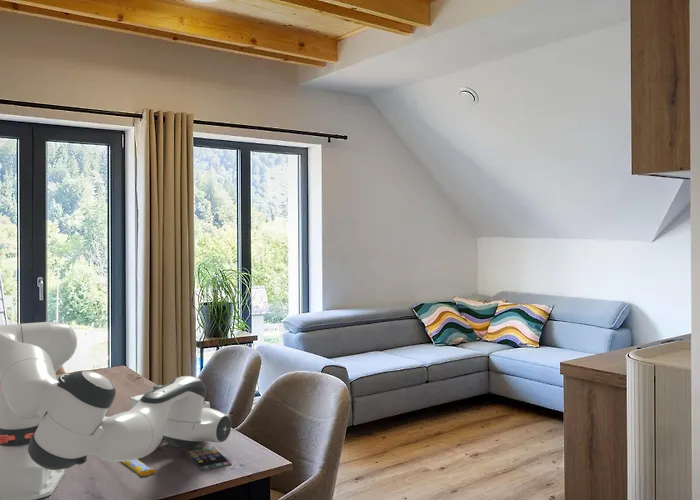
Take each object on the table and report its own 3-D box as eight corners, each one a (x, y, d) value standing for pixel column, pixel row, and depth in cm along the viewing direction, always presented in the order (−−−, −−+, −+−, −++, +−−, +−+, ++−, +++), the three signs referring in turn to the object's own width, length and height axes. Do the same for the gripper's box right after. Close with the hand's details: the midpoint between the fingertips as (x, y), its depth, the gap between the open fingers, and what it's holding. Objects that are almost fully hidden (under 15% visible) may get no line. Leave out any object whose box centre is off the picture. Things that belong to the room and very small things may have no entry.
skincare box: (155, 419, 211) (155, 396, 211) (137, 422, 207) (137, 400, 207) (147, 415, 215) (147, 393, 215) (130, 418, 211) (129, 396, 211)
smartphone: (202, 472, 165) (202, 468, 165) (185, 455, 178) (185, 450, 178) (232, 466, 169) (232, 462, 169) (213, 449, 182) (212, 445, 182)
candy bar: (157, 475, 163) (157, 468, 163) (141, 479, 161) (141, 472, 161) (131, 457, 176) (131, 451, 176) (116, 461, 173) (116, 454, 173)
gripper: (157, 439, 177) (127, 430, 185) (214, 421, 193) (184, 413, 201) (157, 416, 176) (127, 408, 185) (213, 400, 193) (183, 393, 201)
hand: (157, 411), depth 193 cm, fingers open, 8 cm apart
